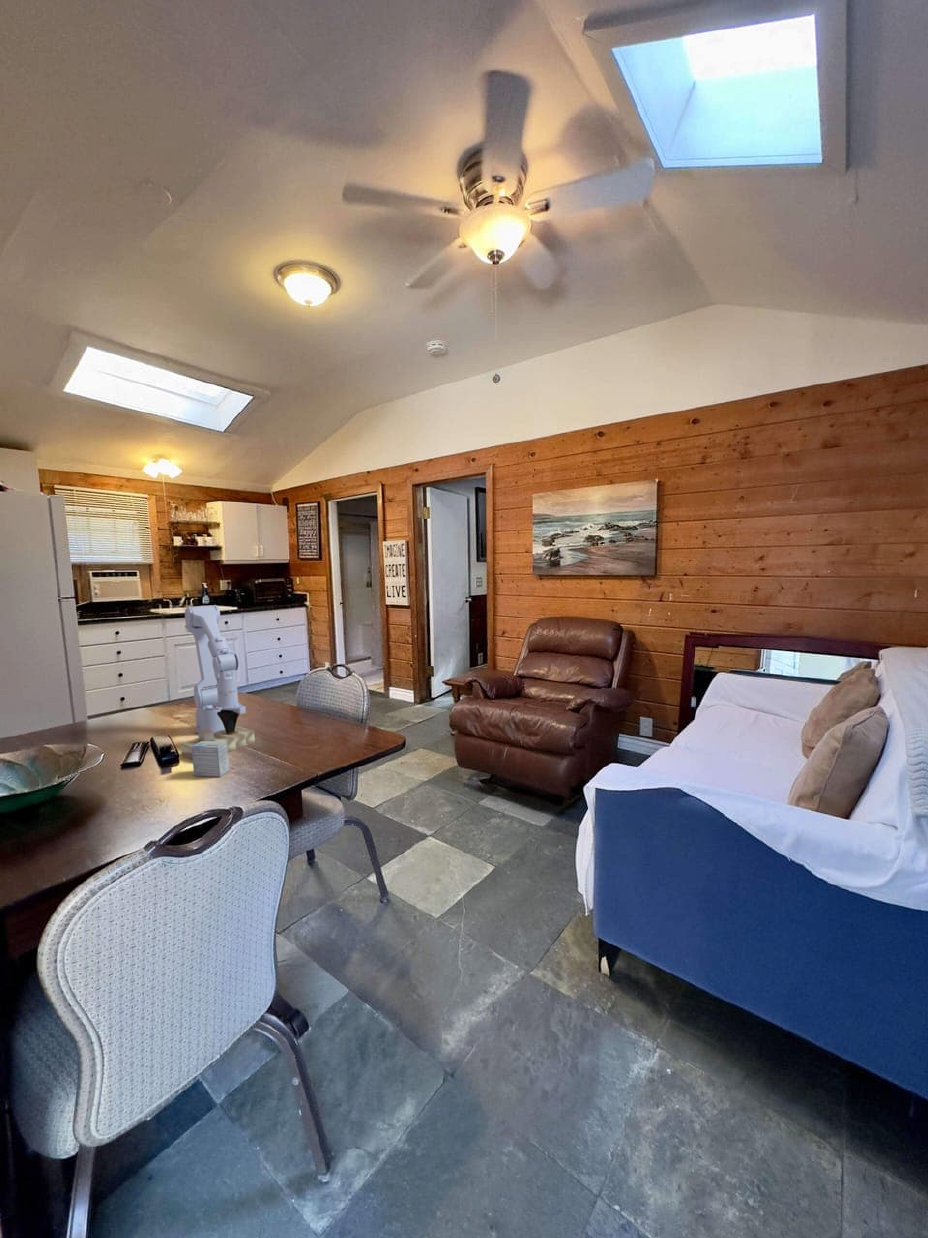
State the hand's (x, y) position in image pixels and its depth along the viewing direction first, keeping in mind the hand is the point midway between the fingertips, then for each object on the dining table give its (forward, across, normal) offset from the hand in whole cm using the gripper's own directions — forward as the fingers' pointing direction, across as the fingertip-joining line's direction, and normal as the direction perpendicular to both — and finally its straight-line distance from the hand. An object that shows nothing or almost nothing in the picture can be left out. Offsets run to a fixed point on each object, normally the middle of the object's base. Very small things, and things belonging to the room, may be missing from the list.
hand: (230, 732), depth 154 cm
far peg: (+4, 0, 0) cm, 4 cm away
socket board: (+4, 0, -4) cm, 6 cm away
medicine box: (+4, +15, -16) cm, 22 cm away
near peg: (+1, 0, -8) cm, 8 cm away
